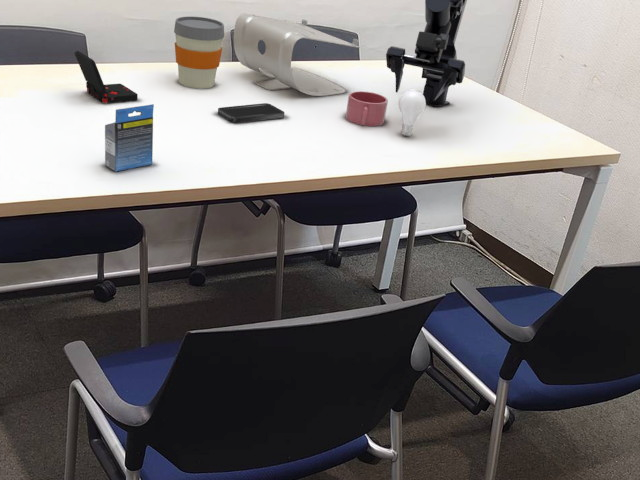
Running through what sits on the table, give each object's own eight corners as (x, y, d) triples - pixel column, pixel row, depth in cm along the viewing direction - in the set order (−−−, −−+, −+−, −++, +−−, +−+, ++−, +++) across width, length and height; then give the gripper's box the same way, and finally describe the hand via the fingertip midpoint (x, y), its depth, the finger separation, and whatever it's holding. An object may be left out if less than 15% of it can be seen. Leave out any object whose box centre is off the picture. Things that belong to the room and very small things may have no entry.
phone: (216, 108, 207) (268, 102, 215) (215, 112, 208) (267, 107, 216) (234, 118, 202) (286, 112, 210) (233, 123, 203) (286, 117, 211)
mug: (347, 110, 222) (350, 89, 219) (385, 117, 221) (389, 95, 218) (342, 125, 212) (345, 103, 209) (382, 132, 211) (386, 109, 208)
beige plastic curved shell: (228, 73, 238) (232, 13, 229) (294, 66, 252) (300, 9, 243) (288, 101, 223) (295, 38, 214) (355, 92, 236) (364, 32, 228)
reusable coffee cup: (230, 85, 229) (234, 25, 220) (200, 93, 219) (204, 31, 211) (192, 73, 234) (195, 14, 225) (161, 81, 224) (164, 19, 216)
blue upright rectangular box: (141, 158, 178) (143, 98, 172) (153, 165, 176) (154, 104, 169) (104, 165, 173) (104, 103, 166) (115, 172, 171) (115, 109, 164)
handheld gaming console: (138, 101, 209) (139, 58, 203) (92, 105, 202) (91, 61, 197) (120, 89, 215) (120, 47, 209) (74, 93, 208) (73, 49, 203)
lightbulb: (417, 142, 208) (427, 95, 202) (391, 137, 209) (399, 91, 202) (419, 134, 213) (429, 88, 207) (394, 129, 214) (402, 84, 208)
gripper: (395, 10, 204) (375, 68, 202) (473, 25, 200) (454, 84, 198) (396, 39, 215) (378, 94, 212) (471, 54, 211) (453, 110, 208)
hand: (415, 95), depth 207 cm, fingers open, 9 cm apart
